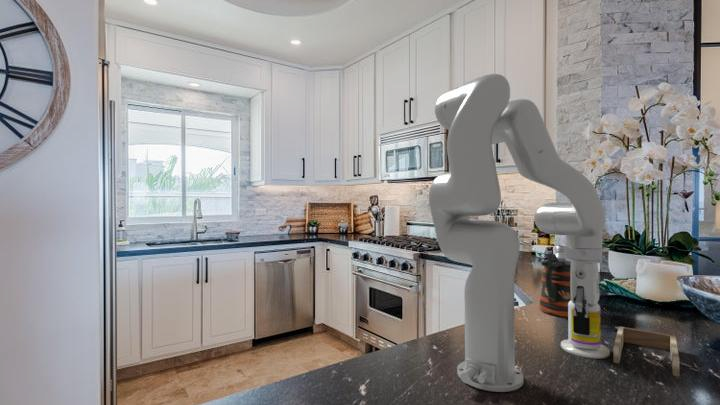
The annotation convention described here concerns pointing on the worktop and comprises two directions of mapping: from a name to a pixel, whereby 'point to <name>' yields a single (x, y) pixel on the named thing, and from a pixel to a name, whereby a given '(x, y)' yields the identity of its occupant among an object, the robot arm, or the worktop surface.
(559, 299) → the beer stein
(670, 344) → the frame
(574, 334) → the supplement bottle
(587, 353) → the disc
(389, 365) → the worktop surface
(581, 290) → the robot arm
